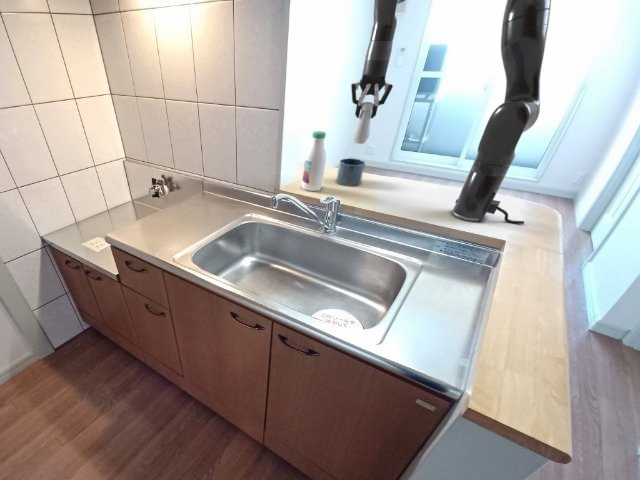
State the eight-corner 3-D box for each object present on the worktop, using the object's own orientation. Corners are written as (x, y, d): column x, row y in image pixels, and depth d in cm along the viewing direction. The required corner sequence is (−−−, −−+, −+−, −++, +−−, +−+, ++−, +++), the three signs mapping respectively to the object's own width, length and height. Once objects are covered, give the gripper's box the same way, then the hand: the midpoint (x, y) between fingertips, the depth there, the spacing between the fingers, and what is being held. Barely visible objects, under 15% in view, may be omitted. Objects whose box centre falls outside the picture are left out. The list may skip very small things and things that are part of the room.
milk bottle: (321, 185, 130) (330, 130, 117) (320, 192, 124) (330, 135, 111) (302, 184, 131) (309, 129, 118) (300, 190, 125) (307, 133, 113)
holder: (364, 181, 133) (369, 161, 128) (354, 187, 128) (358, 167, 123) (342, 176, 138) (346, 157, 133) (332, 182, 132) (335, 162, 127)
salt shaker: (369, 144, 119) (378, 103, 111) (353, 144, 119) (362, 103, 111) (364, 140, 124) (373, 101, 115) (349, 140, 124) (357, 101, 116)
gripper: (356, 58, 104) (345, 119, 114) (402, 59, 102) (387, 120, 112) (353, 58, 109) (343, 115, 120) (398, 58, 107) (383, 116, 118)
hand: (364, 117), depth 116 cm, fingers closed on salt shaker, 4 cm apart
